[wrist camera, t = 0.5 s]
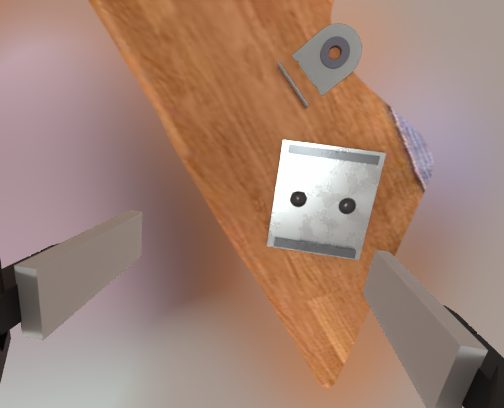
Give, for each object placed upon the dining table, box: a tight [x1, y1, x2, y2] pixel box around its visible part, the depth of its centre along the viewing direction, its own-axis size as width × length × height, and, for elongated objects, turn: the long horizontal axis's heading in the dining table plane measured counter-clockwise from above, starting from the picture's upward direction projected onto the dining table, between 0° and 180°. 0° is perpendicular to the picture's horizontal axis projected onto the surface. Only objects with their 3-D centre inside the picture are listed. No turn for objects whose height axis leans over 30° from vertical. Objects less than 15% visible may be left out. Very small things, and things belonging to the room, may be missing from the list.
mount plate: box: [267, 140, 386, 260], centre depth 37 cm, size 16×14×2 cm
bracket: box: [277, 24, 362, 108], centre depth 32 cm, size 7×10×4 cm, turn 127°
